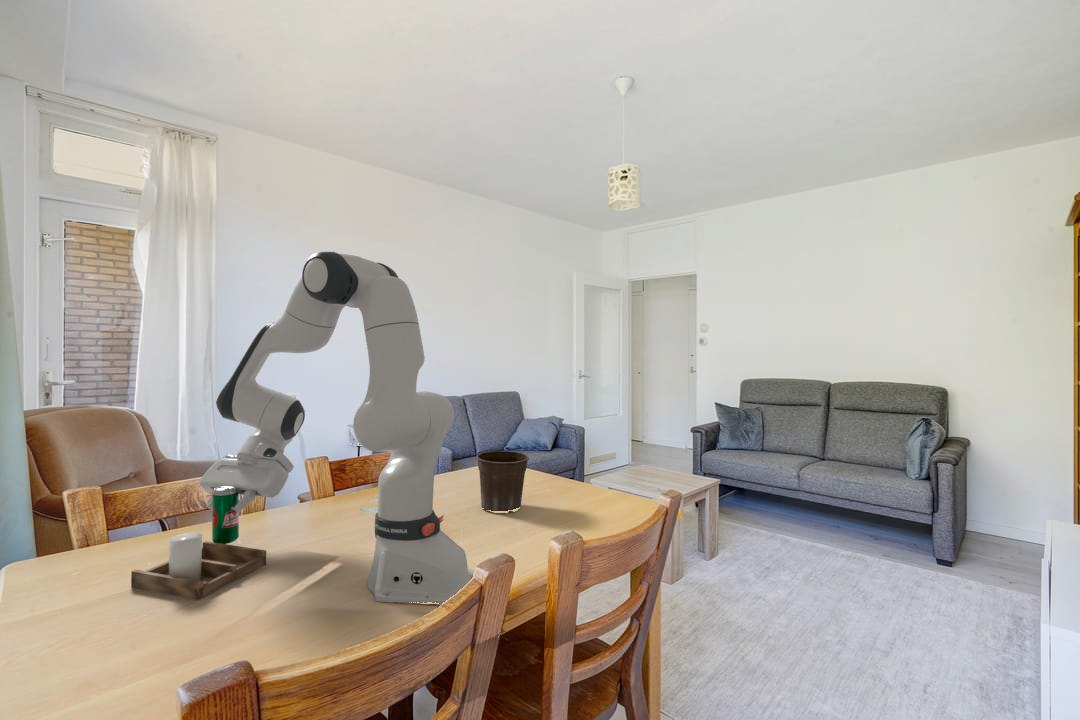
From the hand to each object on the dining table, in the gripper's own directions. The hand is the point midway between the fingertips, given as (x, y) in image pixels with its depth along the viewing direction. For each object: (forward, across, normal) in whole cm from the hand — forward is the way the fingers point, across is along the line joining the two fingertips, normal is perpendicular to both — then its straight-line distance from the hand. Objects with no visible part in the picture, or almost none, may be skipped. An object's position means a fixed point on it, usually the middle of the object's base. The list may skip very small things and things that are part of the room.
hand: (223, 509), depth 111 cm
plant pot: (-30, +47, +47) cm, 73 cm away
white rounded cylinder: (+16, +5, -3) cm, 18 cm away
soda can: (+5, 0, +6) cm, 8 cm away
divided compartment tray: (+15, +5, +1) cm, 16 cm away
